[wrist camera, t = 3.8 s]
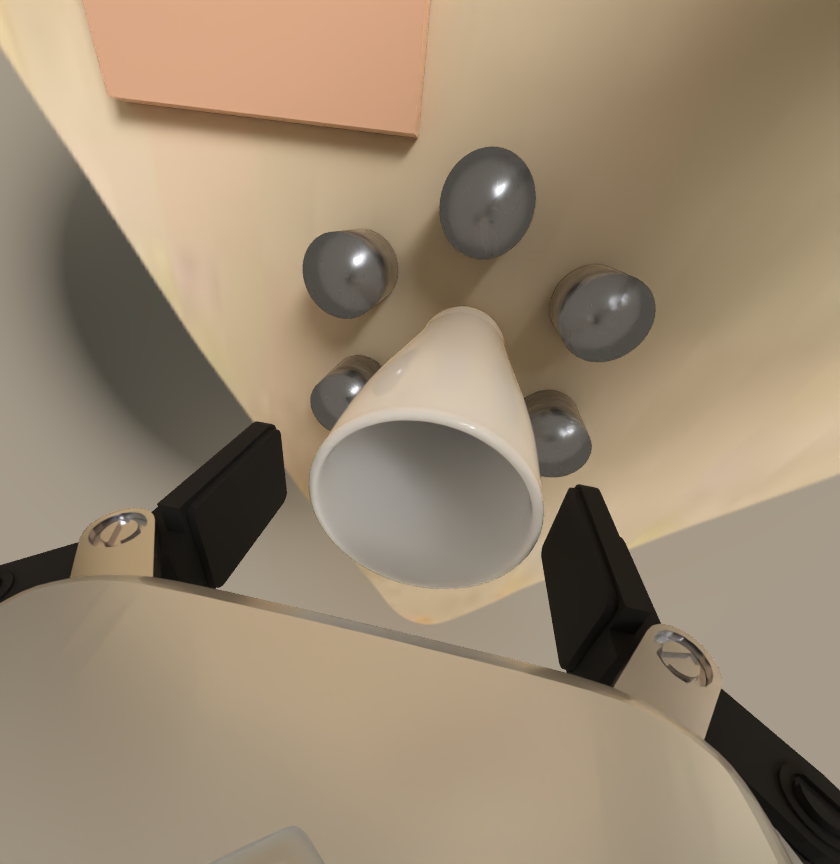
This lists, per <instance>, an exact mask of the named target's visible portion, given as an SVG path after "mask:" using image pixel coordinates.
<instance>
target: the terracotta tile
mask: <svg viewBox="0 0 840 864" xmlns="http://www.w3.org/2000/svg"><path fill="white" fill-rule="evenodd" d="M82 1H83V5H84V9H85V12H86V16H87V20H88V23H89V27H90V31H91V34H92V38H93V42H94V46H95V49H96V53H97V57H98V60H99V64H100V68H101V72H102V75H103V79H104V83H105V86H106V90H107V94H108V96H109V97H112V98H115V99H118V100H122V101H125V102H131V103H139V104H148V105H156V106H164V107H172V108H180V109H188V110H196V111H204V112H212V113H220V114H228V115H237V116H245V117H253V118H261V119H269V120H277V121H285V122H293V123H301V124H309V125H317V126H326V127H334V128H342V129H350V130H358V131H366V132H374V133H382V134H390V135H398V136H407V137H415V138H418V136H419V125H420V114H421V103H422V91H423V80H424V69H425V58H426V47H427V36H428V24H429V13H430V2H431V0H82Z"/></svg>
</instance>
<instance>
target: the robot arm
mask: <svg viewBox="0 0 840 864" xmlns="http://www.w3.org/2000/svg"><path fill="white" fill-rule="evenodd" d="M286 494H287V491H286V480H285V470H284V461H283V451H282V441H281V433H280V431H279V430H276V427H275V425H273V424H268V423H263V422H254V423H252V424H251V425H250V426H249V427H248V428H247V429H245V430H244V431H243V432H242V433H241V434H239V435H238V436H237V437H236V438H235V439H233V440H232V441H231V442H230V443H229V444H228V445H226V446H225V447H224V448H223V449H222V450H220V451H219V452H218V453H217V454H216V455H214V456H213V457H212V458H211V459H210V460H209V461H208V462H206V463H205V464H204V465H203V466H201V467H200V468H199V469H198V470H197V471H196V472H195V473H193V474H192V475H191V476H190V477H188V478H187V479H186V480H185V481H184V482H182V483H181V484H180V485H179V486H178V487H177V488H175V489H174V490H173V491H172V492H171V493H169V494H168V495H167V496H166V497H165V498H164V499H162V500H161V501H160V502H159V503H158V504H157V505H158V507H157V508H156V509H155V510H154V511H152V512H150V511H149V510H146V509H142V508H128V509H122V510H118V511H115V512H112V513H109V514H107V515H105V516H102V517H100V518H99V519H97V520H96V521H94V522H93V523H91V524H90V525H89V526H88V527H87V528H86V529H85V530H84V531H83V533H82V535H81V537H80V539H79V542H78V543H74V544H71V545H67V546H65V547H61V548H57V549H54V550H51V551H47V552H44V553H41V554H37V555H34V556H30V557H27V558H23V559H20V560H17V561H13V562H10V563H6V564H3V565H0V864H840V790H839V789H838V788H837V787H835V785H834V784H832V783H831V782H830V781H829V780H828V779H827V778H826V777H825V776H824V775H823V774H822V773H821V772H819V771H818V770H817V769H816V768H815V767H814V766H812V765H811V764H810V763H808V761H806V760H805V759H804V758H803V757H802V756H801V755H799V754H798V753H797V752H796V751H795V750H793V749H792V748H791V747H790V746H789V745H787V744H786V743H785V742H784V741H783V740H782V739H780V738H779V737H778V736H777V735H776V734H774V733H773V732H772V731H771V730H770V729H769V728H767V727H766V726H765V725H764V724H763V723H762V722H760V721H759V720H758V719H757V718H755V717H754V716H753V715H752V714H751V713H750V712H749V711H747V710H746V709H745V708H744V707H743V706H741V705H740V704H739V703H738V702H737V701H735V700H734V699H733V698H732V697H731V696H730V695H728V694H727V693H726V692H725V691H723V689H721V685H722V677H721V674H720V671H719V667H718V666H717V664H716V662H715V661H714V659H713V657H712V656H711V655H710V654H709V652H708V651H707V650H706V649H705V648H704V647H703V645H701V644H700V643H699V642H698V641H697V640H696V639H694V638H693V637H692V636H690V635H689V634H687V633H686V632H684V631H682V630H681V629H678V628H676V627H673V626H671V625H666V624H661V623H660V620H659V618H658V616H657V613H656V611H655V609H654V607H653V604H652V602H651V600H650V598H649V595H648V593H647V591H646V589H645V586H644V584H643V582H642V580H641V578H640V575H639V573H638V571H637V568H636V566H635V564H634V561H633V559H632V557H631V555H630V552H629V550H628V548H627V546H626V543H625V542H624V540H623V539H622V538H621V537H620V536H619V534H618V532H617V529H616V527H615V525H614V522H613V520H612V518H611V515H610V513H609V511H608V508H607V506H606V504H605V501H604V499H603V497H602V494H601V492H600V490H599V489H598V488H595V487H590V486H585V485H580V484H579V485H576V486H575V488H569V490H568V491H567V494H566V496H565V498H564V500H563V502H562V505H561V507H560V509H559V511H558V513H557V516H556V518H555V520H554V522H553V524H552V527H551V529H550V531H549V533H548V535H547V538H546V540H545V542H544V544H543V547H542V552H541V557H542V564H543V570H544V576H545V582H546V587H547V593H548V599H549V605H550V611H551V617H552V623H553V629H554V635H555V640H556V647H557V653H558V659H559V664H560V666H561V668H562V669H565V670H566V671H567V673H565V672H561V671H556V670H553V669H549V668H545V667H541V666H538V665H534V664H530V663H526V662H522V661H518V660H514V659H511V658H506V657H502V656H498V655H494V654H490V653H486V652H482V651H477V650H473V649H469V648H465V647H461V646H457V645H453V644H448V643H444V642H440V641H436V640H432V639H428V638H423V637H419V636H415V635H411V634H407V633H403V632H398V631H394V630H390V629H386V628H381V627H377V626H373V625H369V624H364V623H360V622H356V621H352V620H348V619H343V618H339V617H334V616H330V615H326V614H322V613H317V612H314V611H309V610H304V609H300V608H296V607H291V606H287V605H283V604H279V603H274V602H270V601H266V600H261V599H257V598H253V597H248V596H244V595H239V594H235V593H231V592H226V591H222V590H217V589H216V587H217V588H219V587H221V586H223V584H224V583H225V582H226V581H227V579H228V578H229V576H230V575H231V574H232V573H233V571H234V570H235V568H236V567H237V566H238V564H239V563H240V561H241V560H242V559H243V558H244V556H245V555H246V553H247V552H248V551H249V549H250V548H251V547H252V545H253V544H254V542H255V541H256V540H257V538H258V537H259V536H260V534H261V533H262V531H263V530H264V529H265V527H266V526H267V525H268V523H269V522H270V521H271V519H272V518H273V517H274V515H275V514H276V512H277V511H278V510H279V508H280V507H281V505H282V504H283V503H284V501H285V498H286Z"/></svg>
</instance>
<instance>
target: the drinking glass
mask: <svg viewBox="0 0 840 864" xmlns="http://www.w3.org/2000/svg"><path fill="white" fill-rule="evenodd" d="M309 495H310V500H311V504H312V507H313V510H314V513H315V515H316V517H317V519H318V521H319V523H320V525H321V527H322V528H323V530H324V531H325V533H326V534H327V535H328V537H329V538H330V539H331V540H332V541H333V542H334V544H335V545H336V546H337V547H338V548H340V549H341V550H342V551H343V552H344V553H345V554H346V555H347V556H349V557H350V558H351V559H353V560H354V561H355V562H357V563H358V564H360V565H361V566H363V567H365V568H367V569H368V570H370V571H372V572H374V573H376V574H378V575H381V576H383V577H385V578H388V579H391V580H393V581H396V582H400V583H403V584H407V585H411V586H416V587H422V588H431V589H457V588H466V587H472V586H476V585H480V584H483V583H487V582H490V581H492V580H494V579H497V578H499V577H501V576H503V575H505V574H507V573H508V572H510V571H511V570H513V569H514V568H515V567H516V566H518V565H519V564H520V563H521V562H522V561H523V560H524V559H525V558H526V557H527V556H528V555H529V553H530V552H531V551H532V549H533V548H534V546H535V544H536V542H537V540H538V538H539V535H540V533H541V529H542V525H543V517H544V504H543V498H542V486H541V475H540V466H539V459H538V453H537V446H536V441H535V435H534V431H533V426H532V423H531V419H530V415H529V412H528V409H527V405H526V402H525V400H524V397H523V394H522V392H521V389H520V386H519V384H518V381H517V379H516V376H515V374H514V371H513V368H512V366H511V363H510V361H509V358H508V355H507V352H506V350H505V344H504V339H503V335H502V333H501V330H500V328H499V327H498V325H497V324H496V322H495V321H494V320H493V319H492V318H491V317H490V316H488V315H487V314H486V313H484V312H482V311H480V310H478V309H475V308H472V307H466V306H458V307H452V308H448V309H446V310H443V311H441V312H439V313H438V314H436V315H435V316H434V317H432V318H431V319H430V320H429V322H428V323H427V324H426V325H425V327H424V328H423V330H422V331H420V332H419V333H418V334H417V335H416V336H415V337H414V338H413V339H412V340H411V341H410V342H408V343H407V344H406V345H405V346H404V347H403V348H402V349H401V350H399V351H398V352H397V353H396V354H395V355H394V356H393V357H392V358H390V359H389V360H388V361H387V362H386V363H385V364H384V365H383V366H382V367H381V368H380V369H379V370H378V371H377V372H376V373H375V374H374V375H373V376H372V377H371V378H370V379H369V380H368V381H367V382H366V383H365V384H364V386H363V387H362V388H361V389H360V391H359V392H358V393H357V394H356V396H355V397H354V398H353V399H352V401H351V402H350V403H349V405H348V406H347V407H346V409H345V410H344V411H343V413H342V414H341V416H340V417H339V419H338V420H337V422H336V423H335V425H334V426H333V428H332V430H331V431H330V433H329V434H328V436H327V438H326V439H325V441H324V442H323V443H322V445H321V446H320V448H319V449H318V451H317V453H316V455H315V457H314V459H313V462H312V465H311V469H310V475H309Z"/></svg>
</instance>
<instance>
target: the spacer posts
mask: <svg viewBox="0 0 840 864" xmlns="http://www.w3.org/2000/svg"><path fill="white" fill-rule="evenodd" d="M534 208H535V187H534V182H533V178H532V175H531V173H530V171H529V169H528V167H527V166H526V164H525V163H524V162H523V161H522V159H521V158H519V157H518V156H517V155H516V154H514V153H513V152H511V151H509V150H507V149H504V148H500V147H485V148H481V149H478V150H475V151H473V152H471V153H469V154H468V155H466V156H465V157H464V158H462V159H461V160H460V161H459V162H458V163H457V164H456V165H455V166H454V168H453V169H452V171H451V172H450V174H449V175H448V177H447V179H446V181H445V184H444V186H443V190H442V193H441V198H440V219H441V224H442V228H443V230H444V233H445V235H446V237H447V239H448V240H449V242H450V243H451V244H452V245H453V246H454V247H455V248H456V249H457V250H458V251H459V252H461V253H462V254H464V255H466V256H468V257H471V258H475V259H490V258H494V257H497V256H500V255H502V254H504V253H506V252H507V251H509V250H510V249H511V248H513V247H514V246H515V245H516V244H517V243H518V242H519V241H520V240H521V238H522V237H523V235H524V234H525V232H526V231H527V229H528V227H529V225H530V222H531V220H532V217H533V213H534ZM303 277H304V282H305V285H306V288H307V290H308V292H309V294H310V296H311V298H312V299H313V300H314V302H315V303H316V304H317V305H318V306H319V307H320V308H321V309H322V310H324V311H325V312H327V313H328V314H330V315H332V316H335V317H338V318H344V319H349V318H355V317H358V316H360V315H362V314H364V313H365V312H367V311H368V310H369V309H371V308H372V307H373V306H375V305H376V304H377V303H379V302H380V301H381V300H383V299H384V298H386V297H387V296H388V295H389V294H390V293H391V291H392V290H393V288H394V286H395V284H396V281H397V277H398V263H397V258H396V255H395V253H394V251H393V249H392V247H391V246H390V244H389V243H388V242H387V241H386V240H385V239H384V238H383V237H382V236H381V235H379V234H378V233H376V232H373V231H371V230H366V229H359V230H348V231H336V232H328V233H325V234H322V235H320V236H319V237H317V238H316V239H315V240H314V241H313V242H312V243H311V244H310V245H309V247H308V249H307V251H306V253H305V256H304V260H303ZM550 316H551V319H552V322H553V324H554V326H555V327H556V329H557V331H558V333H559V334H560V336H561V338H562V340H563V342H564V343H565V345H566V347H567V348H568V349H569V350H570V351H571V352H572V353H573V354H574V355H575V356H577V357H579V358H581V359H583V360H587V361H591V362H605V361H610V360H614V359H617V358H619V357H622V356H624V355H626V354H627V353H629V352H630V351H632V350H633V349H635V348H636V347H637V346H638V345H639V344H640V343H641V342H642V341H643V340H644V338H645V337H646V336H647V334H648V332H649V331H650V329H651V327H652V324H653V321H654V317H655V301H654V297H653V295H652V293H651V291H650V289H649V288H648V287H647V286H646V285H645V284H644V283H643V282H642V281H640V280H639V279H637V278H634V277H632V276H630V275H627V274H625V273H623V272H620V271H618V270H616V269H613V268H611V267H608V266H605V265H600V264H591V265H586V266H583V267H580V268H578V269H575V270H574V271H572V272H570V273H569V274H568V275H567V276H565V277H564V278H563V279H562V280H561V282H560V283H559V284H558V285H557V287H556V289H555V290H554V292H553V295H552V298H551V302H550ZM380 368H381V366H380V365H379V364H378V363H377V362H376V361H374V360H373V359H371V358H368V357H366V356H360V355H355V356H350V357H348V358H345V359H344V360H343V361H342V362H341V363H339V364H338V365H337V366H336V367H335V368H334V369H333V370H332V371H331V372H330V373H329V374H328V375H327V376H326V377H325V378H324V379H323V380H321V381H320V382H319V383H318V384H317V385H316V386H315V388H314V389H313V391H312V394H311V408H312V411H313V413H314V415H315V417H316V419H317V420H318V421H319V422H320V423H321V424H322V425H323V426H324V427H325V428H326V429H328V430H329V431H331V430H332V428H333V426H334V425H335V423H336V422H337V420H338V419H339V417H340V416H341V414H342V413H343V411H344V410H345V409H346V407H347V406H348V405H349V403H350V402H351V401H352V399H353V398H354V397H355V396H356V394H357V393H358V392H359V391H360V389H361V388H362V387H363V386H364V384H365V383H366V382H367V381H368V380H369V379H370V378H371V377H372V376H373V375H374V374H375V373H376V372H377V371H378V370H379V369H380ZM524 400H525V402H526V405H527V409H528V412H529V415H530V419H531V423H532V426H533V431H534V435H535V441H536V446H537V453H538V459H539V466H540V475H541V476H544V477H561V476H566V475H568V474H571V473H573V472H575V471H577V470H578V469H580V468H581V467H582V466H583V465H584V464H585V463H586V461H587V460H588V458H589V456H590V454H591V447H592V445H591V440H590V437H589V435H588V433H587V431H586V428H585V426H584V424H583V421H582V419H581V417H580V415H579V412H578V410H577V408H576V405H575V403H574V402H573V401H572V399H571V398H570V397H568V396H567V395H565V394H563V393H561V392H558V391H552V390H546V391H540V392H536V393H534V394H532V395H530V396H528V397H527V398H526V399H524Z"/></svg>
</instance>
